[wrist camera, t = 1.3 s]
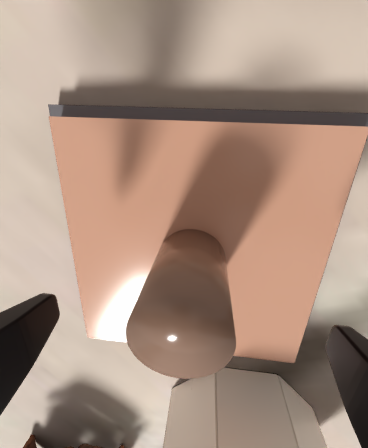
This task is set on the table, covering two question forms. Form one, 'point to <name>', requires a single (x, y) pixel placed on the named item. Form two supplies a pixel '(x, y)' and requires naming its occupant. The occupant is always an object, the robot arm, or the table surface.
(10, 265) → the table surface
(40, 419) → the table surface
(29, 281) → the table surface
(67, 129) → the lid
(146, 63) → the table surface
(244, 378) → the bowl
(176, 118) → the mat
